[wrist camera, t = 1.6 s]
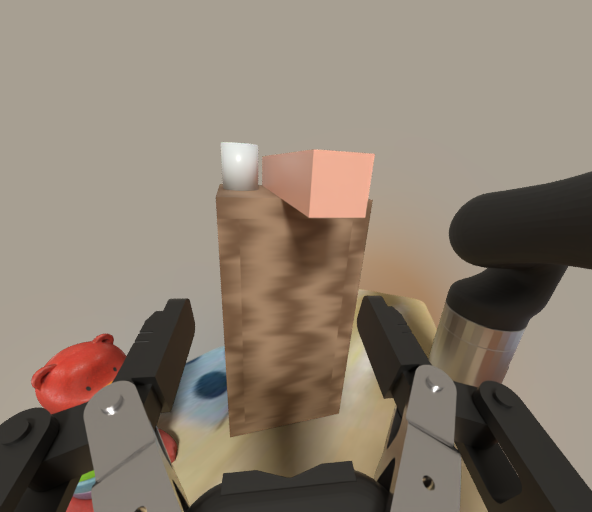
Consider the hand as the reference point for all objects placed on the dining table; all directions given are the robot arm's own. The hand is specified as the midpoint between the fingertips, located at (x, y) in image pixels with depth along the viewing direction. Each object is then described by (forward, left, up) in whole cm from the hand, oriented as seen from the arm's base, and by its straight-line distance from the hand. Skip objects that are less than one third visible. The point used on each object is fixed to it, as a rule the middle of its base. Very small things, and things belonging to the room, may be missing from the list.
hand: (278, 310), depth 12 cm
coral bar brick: (-5, -16, +3) cm, 17 cm away
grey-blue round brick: (+1, -22, +3) cm, 22 cm away
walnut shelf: (-5, -21, -29) cm, 36 cm away
